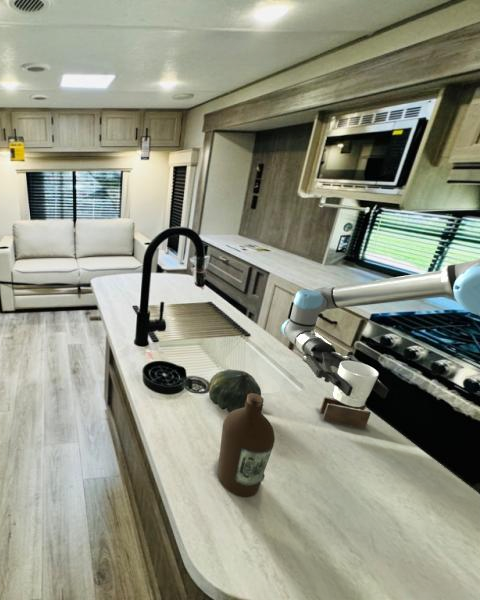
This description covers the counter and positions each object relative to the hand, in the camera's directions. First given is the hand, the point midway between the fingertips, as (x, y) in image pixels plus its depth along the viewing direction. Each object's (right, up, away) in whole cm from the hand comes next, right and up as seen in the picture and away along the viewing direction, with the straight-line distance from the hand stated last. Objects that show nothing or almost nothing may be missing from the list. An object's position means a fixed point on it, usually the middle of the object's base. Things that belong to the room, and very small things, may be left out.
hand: (367, 392), depth 80 cm
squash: (-24, -11, +23) cm, 35 cm away
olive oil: (-35, -21, -2) cm, 41 cm away
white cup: (+1, -4, +7) cm, 8 cm away
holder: (+5, -14, +14) cm, 20 cm away
